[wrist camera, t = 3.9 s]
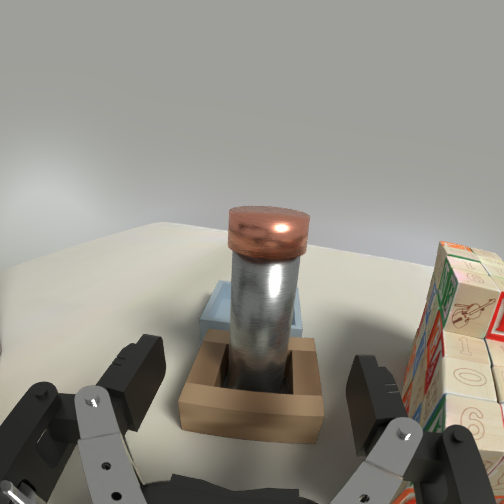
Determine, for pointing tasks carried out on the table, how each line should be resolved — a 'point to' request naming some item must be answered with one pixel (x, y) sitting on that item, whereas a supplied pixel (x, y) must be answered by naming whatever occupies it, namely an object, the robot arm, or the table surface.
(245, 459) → the table surface
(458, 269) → the stack of blocks
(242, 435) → the socket block
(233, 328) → the pin
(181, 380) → the table surface
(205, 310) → the tray
